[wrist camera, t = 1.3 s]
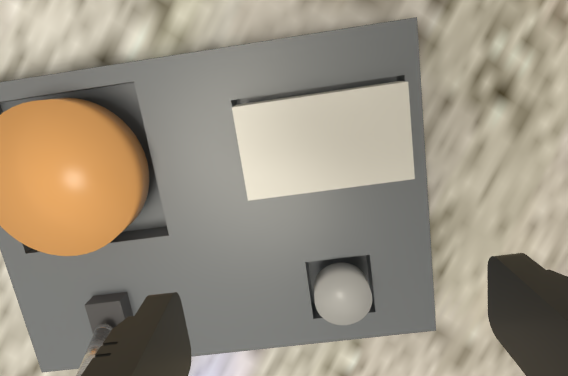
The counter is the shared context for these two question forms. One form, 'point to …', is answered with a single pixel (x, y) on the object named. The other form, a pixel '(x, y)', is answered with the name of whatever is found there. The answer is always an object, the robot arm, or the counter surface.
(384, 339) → the counter surface
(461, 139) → the counter surface
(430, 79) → the counter surface
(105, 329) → the toggle lever
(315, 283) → the grey button
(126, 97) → the control panel
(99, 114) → the orange button
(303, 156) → the key
